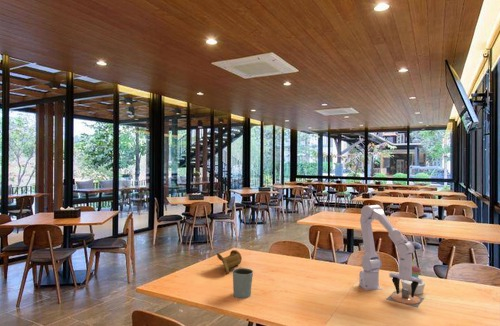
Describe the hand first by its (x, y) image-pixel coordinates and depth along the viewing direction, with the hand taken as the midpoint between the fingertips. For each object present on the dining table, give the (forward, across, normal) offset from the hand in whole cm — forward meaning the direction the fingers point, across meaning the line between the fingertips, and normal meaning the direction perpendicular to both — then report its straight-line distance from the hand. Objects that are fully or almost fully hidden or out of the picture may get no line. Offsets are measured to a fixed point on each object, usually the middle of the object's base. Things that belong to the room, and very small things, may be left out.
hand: (405, 295), depth 160 cm
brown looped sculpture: (+3, +96, +23) cm, 99 cm away
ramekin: (+3, 0, -14) cm, 14 cm away
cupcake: (+2, +6, -38) cm, 39 cm away
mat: (+2, 0, 0) cm, 2 cm away
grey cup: (+2, +63, +49) cm, 80 cm away
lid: (+2, 0, 0) cm, 2 cm away
